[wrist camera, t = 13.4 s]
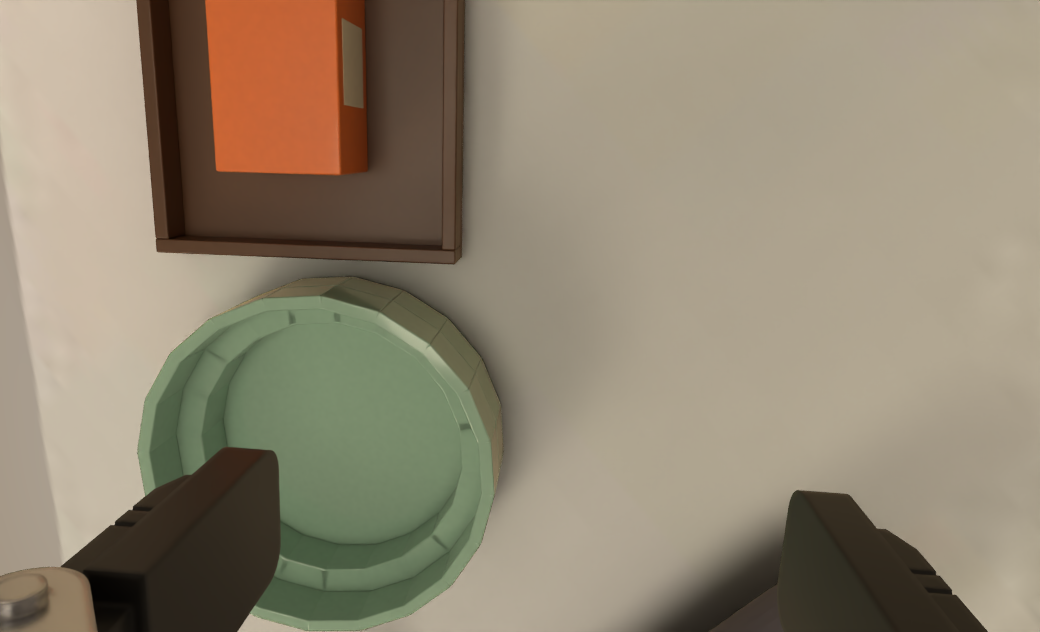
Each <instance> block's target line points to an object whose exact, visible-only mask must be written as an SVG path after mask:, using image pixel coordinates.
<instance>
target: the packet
mask: <svg viewBox="0 0 1040 632" xmlns="http://www.w3.org/2000/svg"><path fill="white" fill-rule="evenodd" d="M205 6H206V21H207V37H208V52H209V68H210V83H211V99H212V114H213V130H214V145H215V161H216V170H217V171H218V172H246V173H278V174H310V175H347V174H354V173H362V172H367V170H368V158H367V104H366V51H365V0H205Z"/></svg>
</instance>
